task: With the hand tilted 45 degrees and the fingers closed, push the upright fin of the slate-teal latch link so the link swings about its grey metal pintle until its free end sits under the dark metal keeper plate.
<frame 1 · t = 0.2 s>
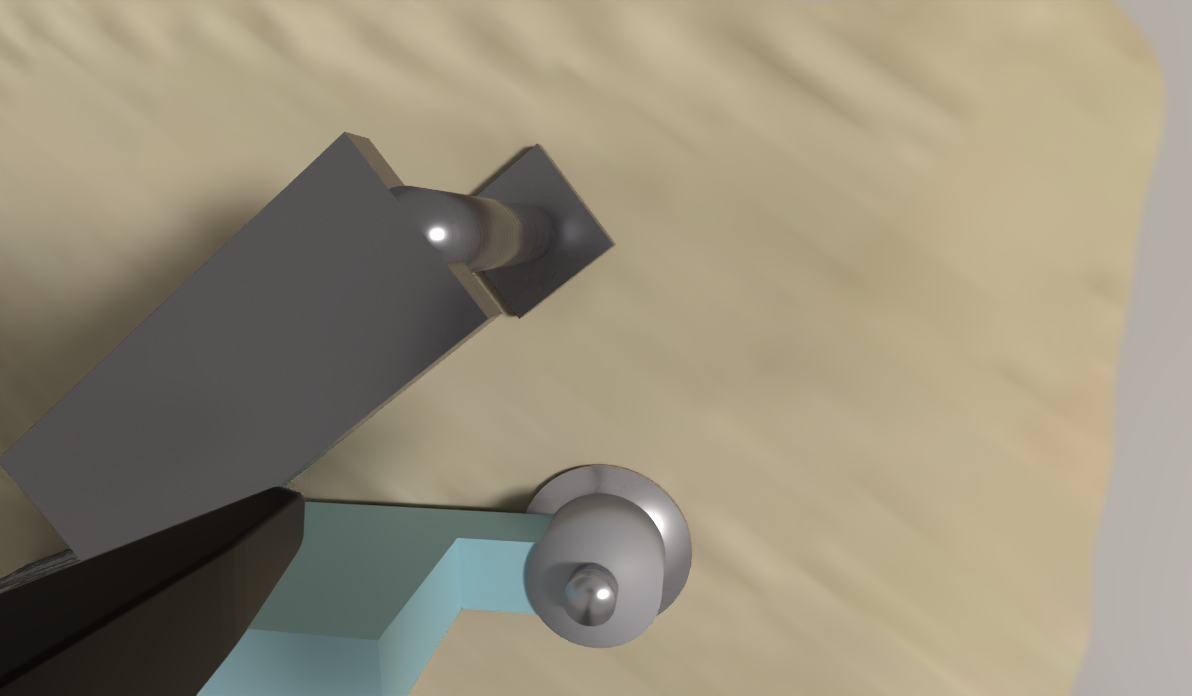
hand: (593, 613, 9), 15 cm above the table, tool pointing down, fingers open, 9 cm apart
link: (431, 601, 22), point 5 cm above the table, hinge at 0.0°
pintle: (604, 546, 25), on the table
keeper: (366, 334, 20), on the table
small box: (150, 591, 30), on the table
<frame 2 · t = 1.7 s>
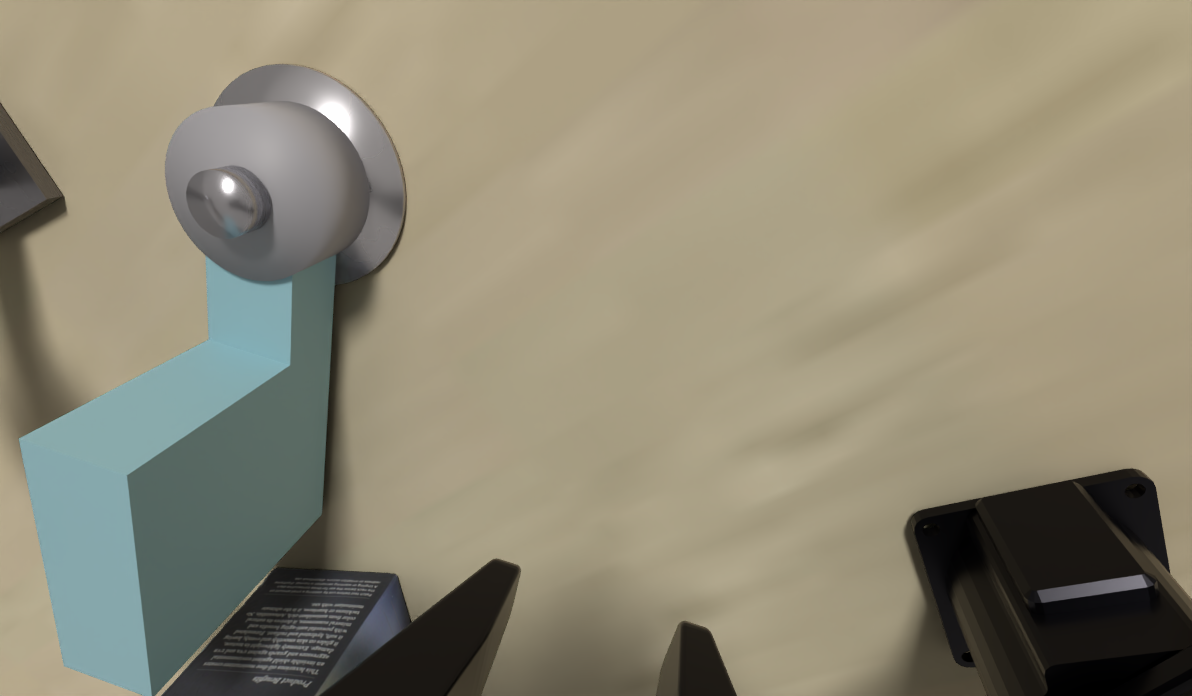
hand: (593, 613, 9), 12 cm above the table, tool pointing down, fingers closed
link: (206, 386, 19), point 5 cm above the table, hinge at 0.0°
pintle: (305, 181, 20), on the table
small box: (370, 655, 30), on the table
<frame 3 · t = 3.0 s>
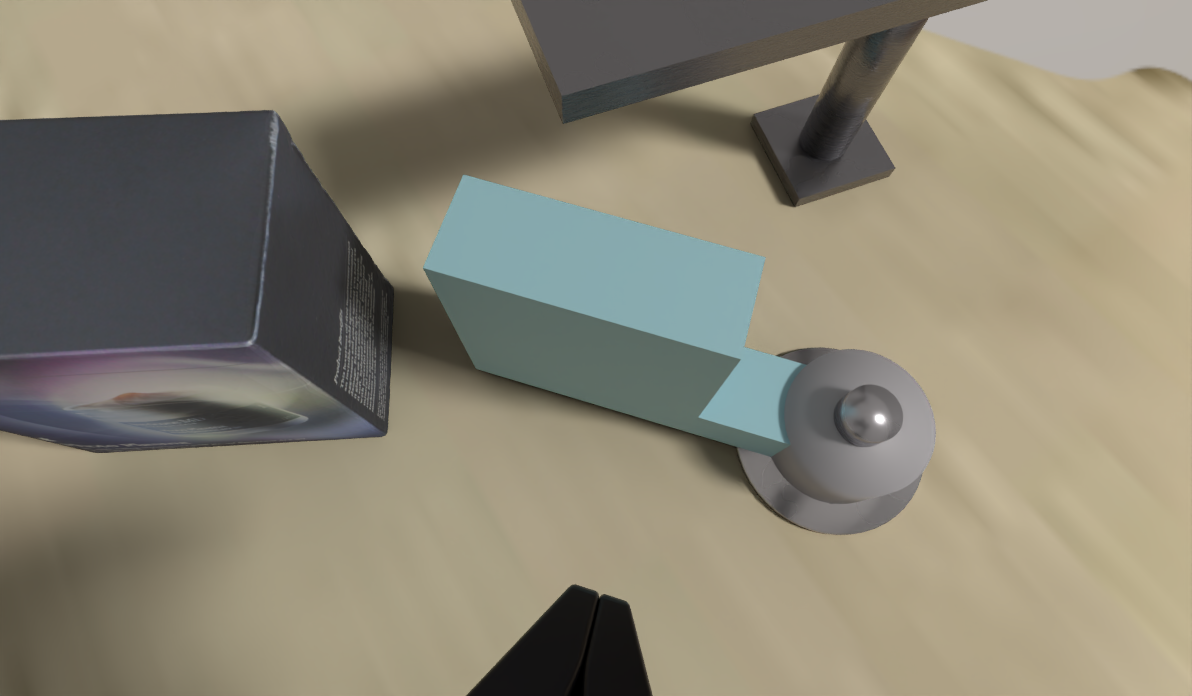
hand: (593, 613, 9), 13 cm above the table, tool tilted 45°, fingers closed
link: (709, 357, 20), point 5 cm above the table, hinge at 0.0°
pintle: (828, 437, 23), on the table
keeper: (742, 93, 22), on the table
small box: (253, 370, 24), on the table
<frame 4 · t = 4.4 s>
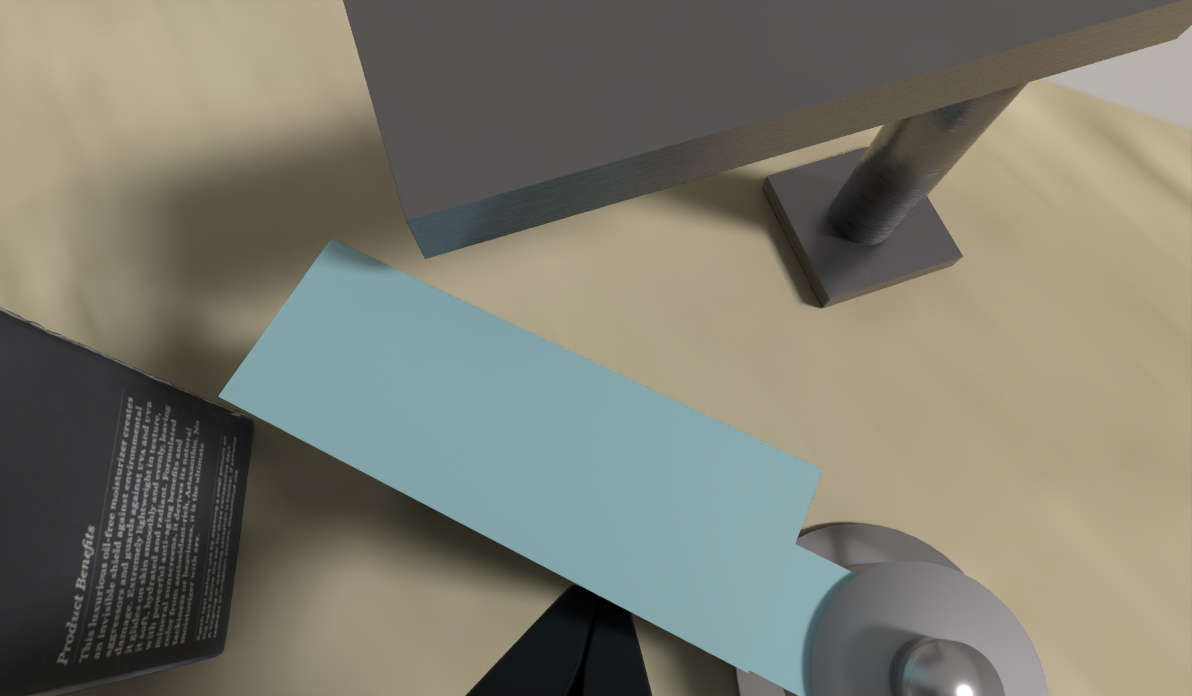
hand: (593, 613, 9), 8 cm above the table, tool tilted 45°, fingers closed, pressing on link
link: (708, 562, 12), point 5 cm above the table, hinge at 8.4°, touching gripper
pintle: (871, 665, 16), on the table
keeper: (752, 166, 15), on the table
small box: (43, 544, 17), on the table
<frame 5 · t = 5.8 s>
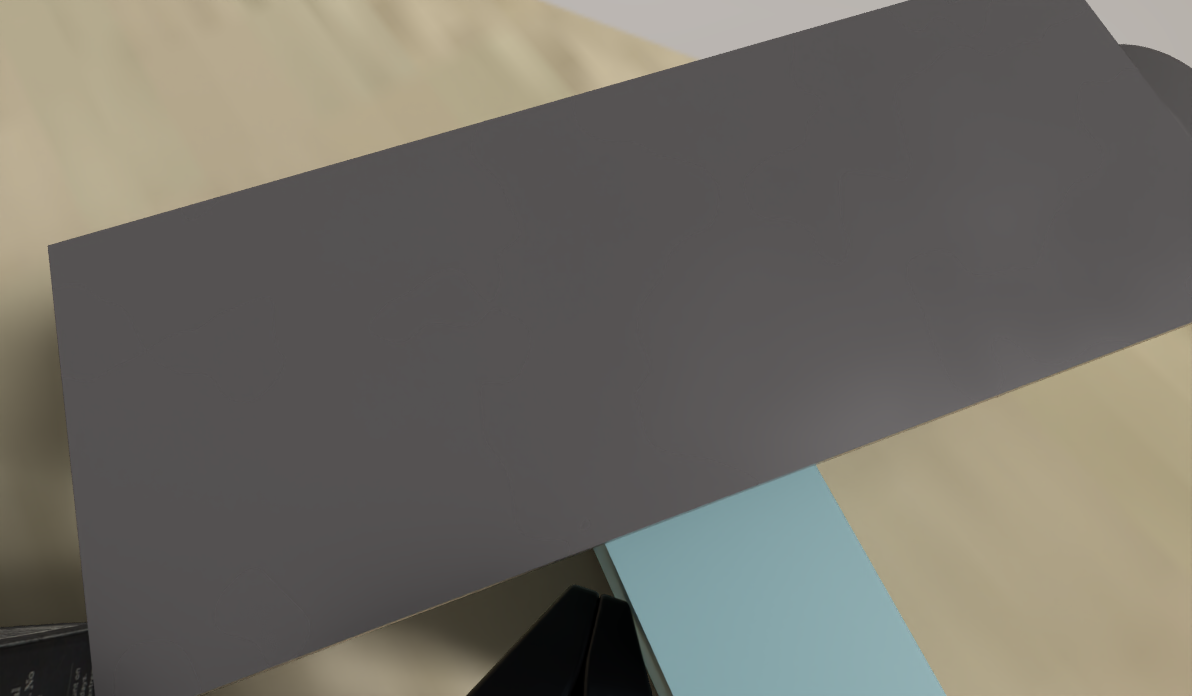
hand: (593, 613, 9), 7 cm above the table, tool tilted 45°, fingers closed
keeper: (686, 373, 12), on the table
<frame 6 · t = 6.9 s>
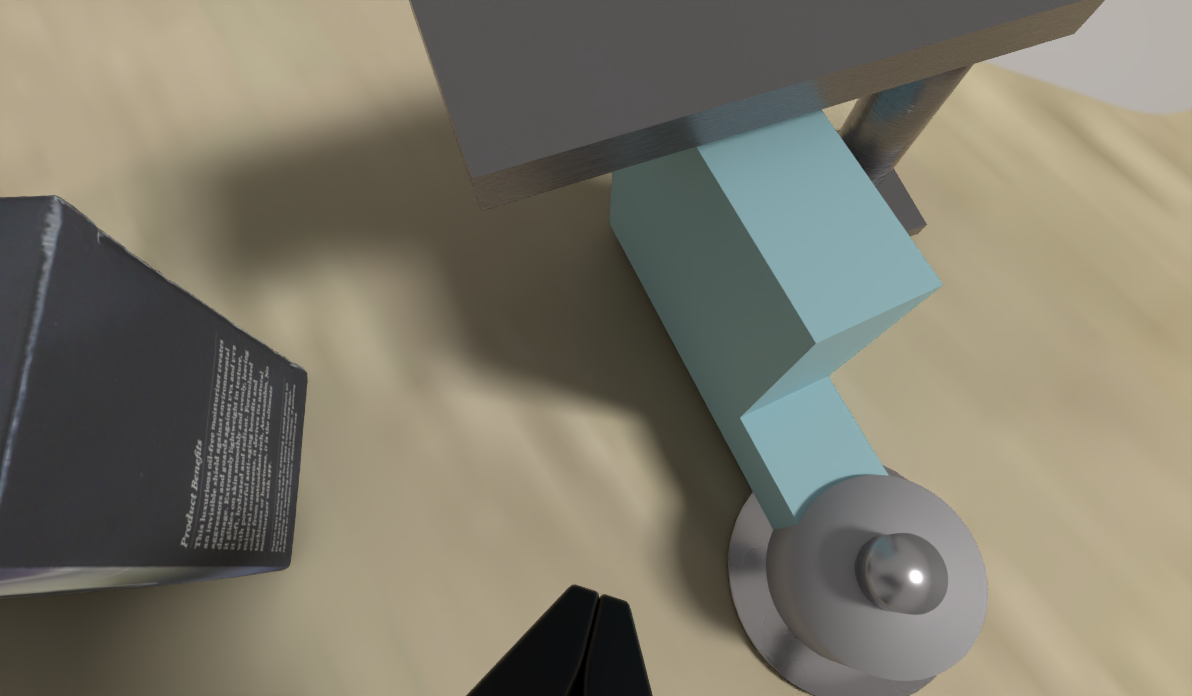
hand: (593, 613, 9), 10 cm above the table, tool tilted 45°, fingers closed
link: (800, 366, 16), point 5 cm above the table, hinge at 47.8°
pintle: (844, 572, 19), on the table
keeper: (739, 143, 17), on the table
small box: (129, 479, 19), on the table
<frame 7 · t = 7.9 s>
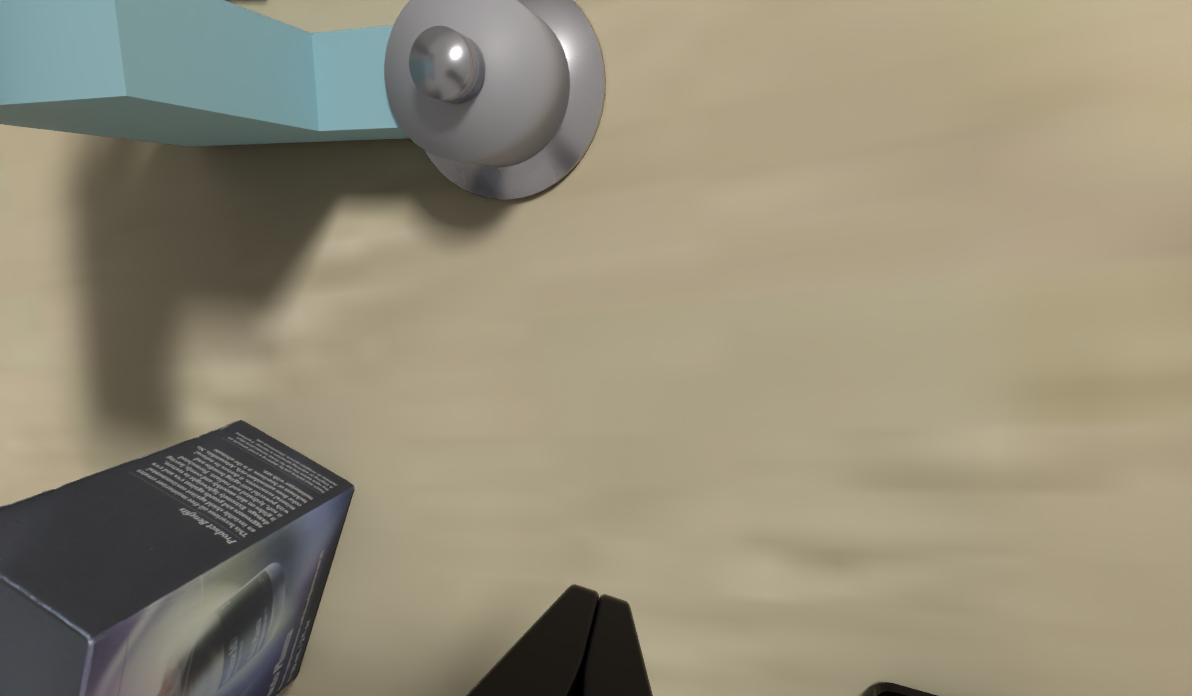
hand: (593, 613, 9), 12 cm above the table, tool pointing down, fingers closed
link: (259, 70, 18), point 5 cm above the table, hinge at 47.8°
pintle: (504, 90, 21), on the table
small box: (276, 550, 28), on the table
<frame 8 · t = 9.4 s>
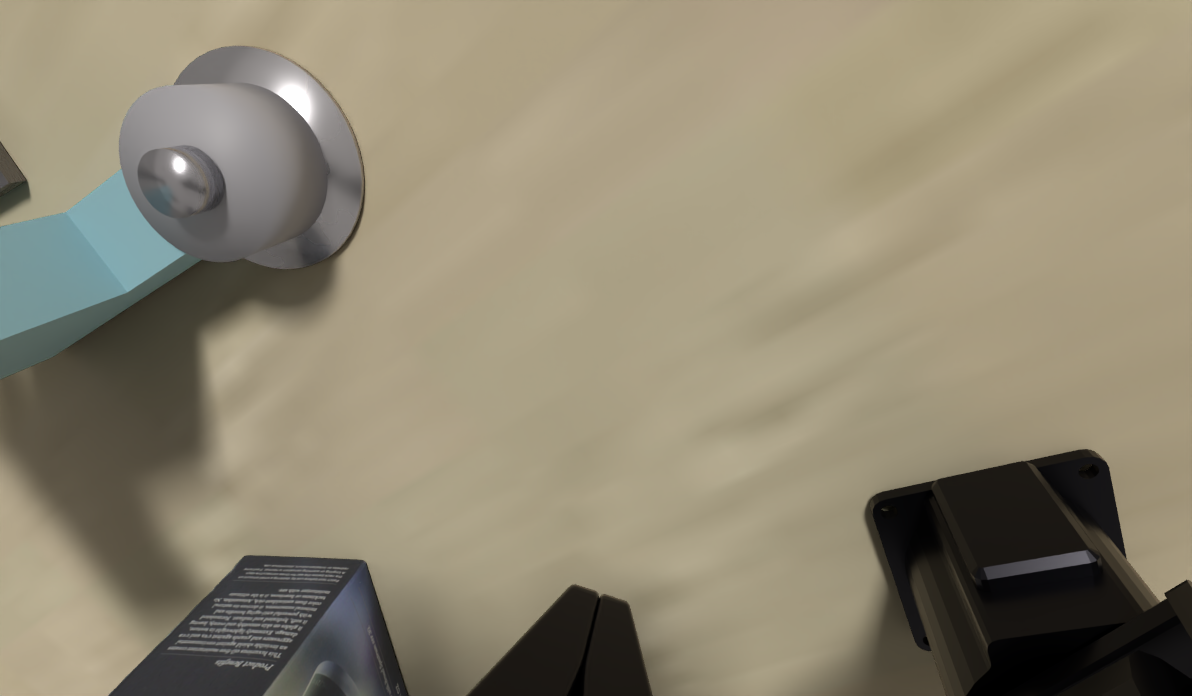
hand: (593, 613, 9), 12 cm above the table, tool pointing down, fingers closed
link: (32, 274, 18), point 5 cm above the table, hinge at 47.8°
pintle: (265, 164, 21), on the table
small box: (341, 643, 30), on the table
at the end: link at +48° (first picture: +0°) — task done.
